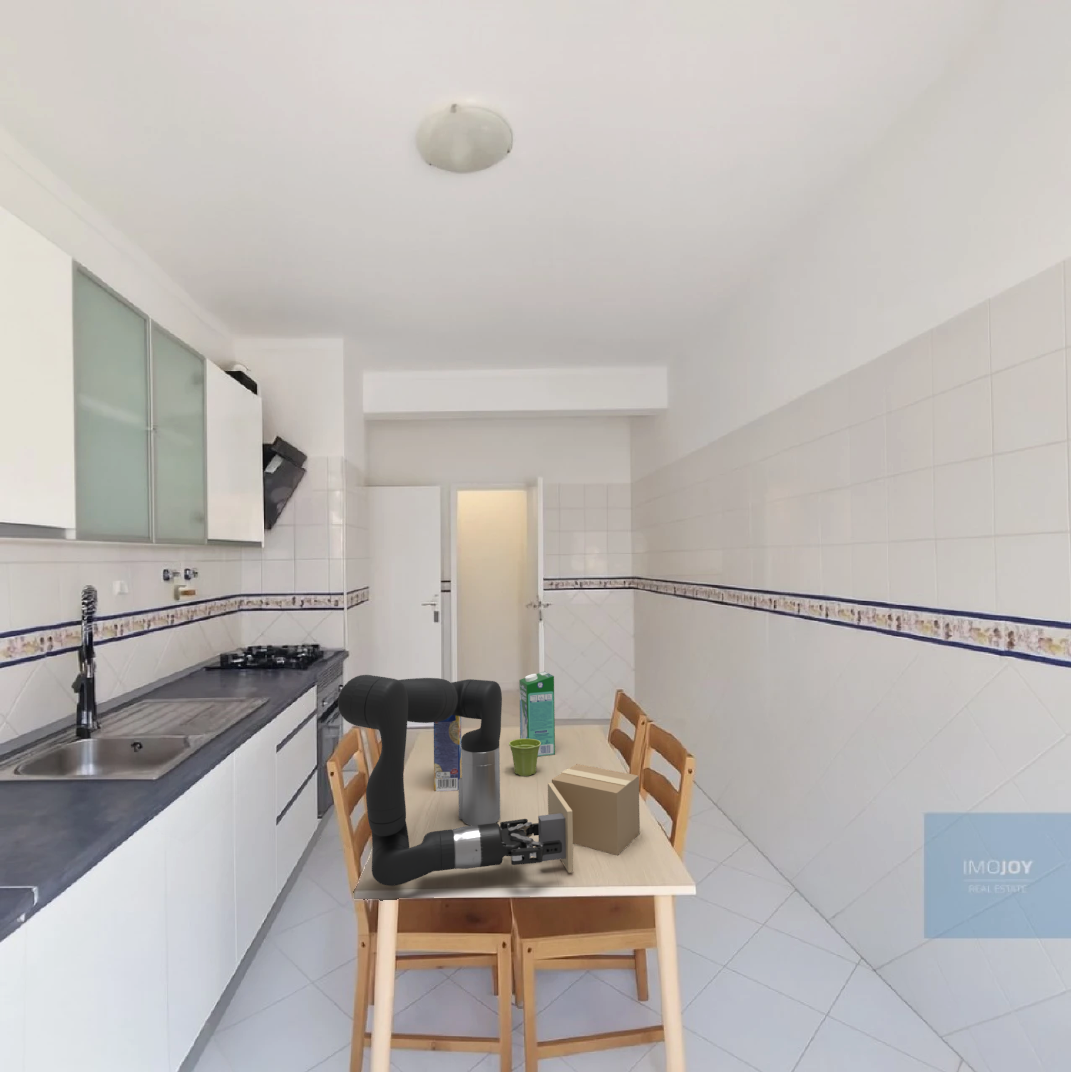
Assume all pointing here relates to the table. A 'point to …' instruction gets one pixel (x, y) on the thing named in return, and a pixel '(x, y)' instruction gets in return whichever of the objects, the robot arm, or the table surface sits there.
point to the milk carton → (538, 711)
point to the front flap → (557, 827)
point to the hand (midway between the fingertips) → (555, 836)
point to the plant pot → (525, 755)
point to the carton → (601, 806)
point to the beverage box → (447, 754)
